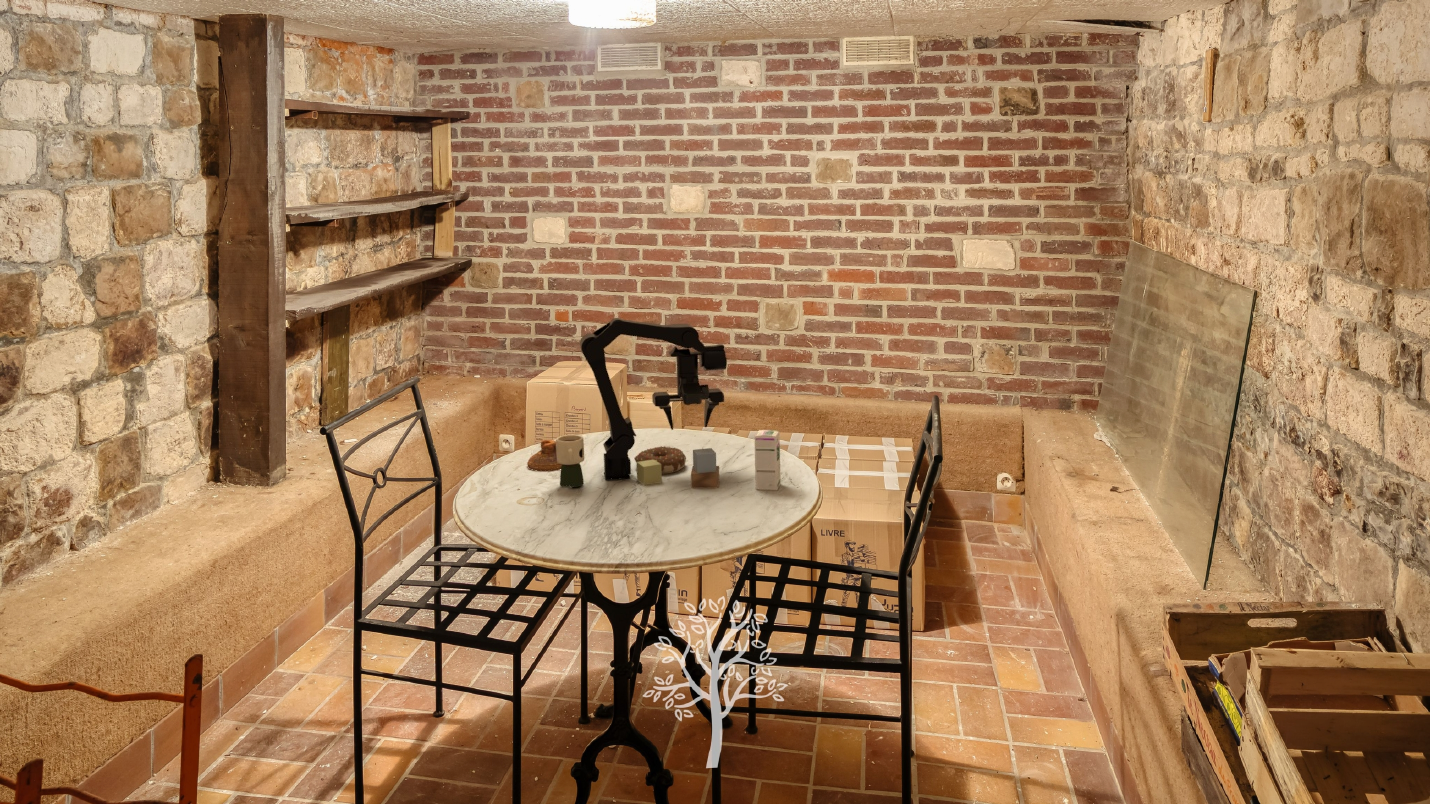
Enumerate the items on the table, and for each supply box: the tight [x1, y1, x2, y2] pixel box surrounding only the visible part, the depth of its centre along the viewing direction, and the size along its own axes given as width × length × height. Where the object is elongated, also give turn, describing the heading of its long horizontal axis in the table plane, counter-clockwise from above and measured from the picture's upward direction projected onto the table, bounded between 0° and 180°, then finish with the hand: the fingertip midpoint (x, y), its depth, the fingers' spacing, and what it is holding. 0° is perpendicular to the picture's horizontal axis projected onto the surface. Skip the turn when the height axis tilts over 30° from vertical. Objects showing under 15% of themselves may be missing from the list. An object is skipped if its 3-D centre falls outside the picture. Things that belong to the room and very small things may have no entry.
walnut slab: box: [690, 465, 720, 489], centre depth 263 cm, size 7×7×4 cm
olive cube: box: [635, 460, 663, 486], centre depth 266 cm, size 5×5×5 cm
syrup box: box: [754, 429, 781, 491], centre depth 259 cm, size 6×6×14 cm
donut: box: [633, 445, 687, 475], centre depth 278 cm, size 14×14×5 cm
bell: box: [526, 439, 562, 472], centre depth 282 cm, size 12×12×7 cm
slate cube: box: [692, 447, 717, 473], centre depth 262 cm, size 5×5×5 cm
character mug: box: [555, 434, 585, 488], centre depth 262 cm, size 11×7×13 cm, turn 9°
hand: (688, 428), depth 272 cm, fingers open, 9 cm apart
